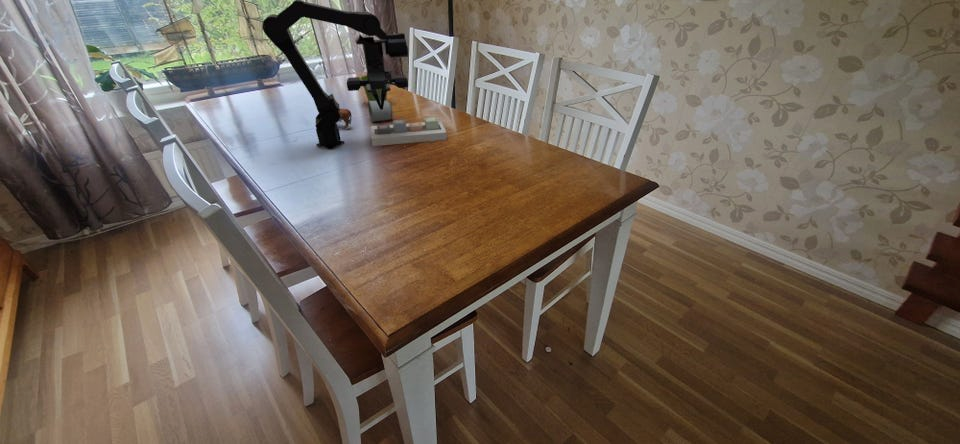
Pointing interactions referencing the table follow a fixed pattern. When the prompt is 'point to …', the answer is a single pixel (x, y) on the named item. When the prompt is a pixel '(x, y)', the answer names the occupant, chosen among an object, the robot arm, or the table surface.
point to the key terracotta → (415, 127)
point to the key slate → (399, 126)
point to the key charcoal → (383, 129)
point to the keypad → (408, 135)
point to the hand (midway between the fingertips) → (381, 109)
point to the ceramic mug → (380, 111)
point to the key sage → (431, 123)
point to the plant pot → (369, 94)
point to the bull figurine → (345, 117)
